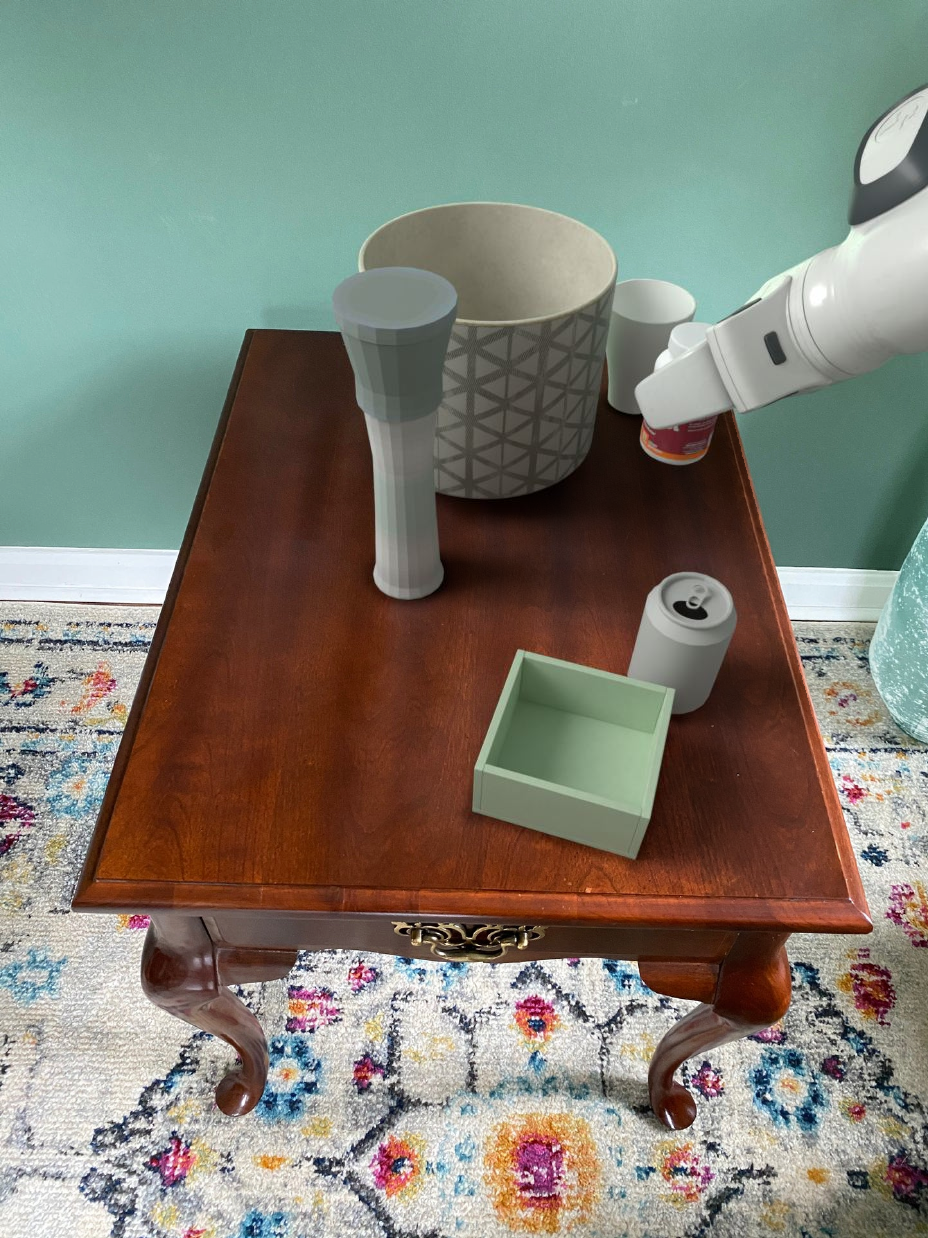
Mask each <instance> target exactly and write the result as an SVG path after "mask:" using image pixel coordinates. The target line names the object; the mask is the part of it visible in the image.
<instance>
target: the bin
mask: <svg viewBox="0 0 928 1238" xmlns="http://www.w3.org/2000/svg"><path fill="white" fill-rule="evenodd" d="M675 691H676V690H675V689H673V688H669V687H668V688H667V687H665V686H661V685H657V684H653V683H649V682H645V681H641V680H637V679H633V678H630V677H628V676H626V675H621V674H619V673H618V674H617V673H613V672H609V671H606V670H602V669H598V668H594V667H590V666H586V665H582V664H580V663H575V662H570V661H567V660H564V659H559V658H555V657H551V656H547V655H543V654H539V653H536V652H531V651H527V650H524V649H520V648H518V649H517V651H516V653H515V656H514V658H513V661H512V664H511V667H510V670H509V673H508V675H507V678H506V681H505V684H504V687H503V689H502V691H501V694H500V697H499V700H498V702H497V704H496V708H495V710H494V713H493V717H492V719H491V722H490V723H489V727H488V730H487V733H486V735H485V737H484V741H483V744H482V747H481V749H480V752H479V754H478V757H477V760H476V763H475V765H474V767H473V768H474V770H473V790H472V794H473V795H472V813H473V812H474V813H476V814H480V815H483V816H487V817H490V818H494V819H496V820H500V821H503V822H508V823H510V824H513V825H517V826H521V827H523V828H527V829H530V830H534V831H537V832H540V833H544V834H547V835H550V836H554V837H557V838H559V839H560V838H561V839H563V840H567V841H570V842H574V843H577V844H580V845H584V846H588V847H590V848H594V849H597V850H601V851H604V852H607V853H611V854H615V855H618V856H621V857H624V858H628V859H632V860H636V858H637V857H638V854H639V851H640V848H641V845H642V843H643V840H644V837H645V836H646V835H645V834H646V832H647V829H648V826H649V824H650V821H651V818H652V813H653V807H654V802H655V797H656V792H657V787H658V782H659V778H660V771H661V767H662V761H663V757H664V751H665V746H666V741H667V736H668V732H669V727H670V720H671V716H672V714H671V711H672V706H673V701H674V696H675Z"/></svg>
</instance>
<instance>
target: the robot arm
mask: <svg viewBox="0 0 928 1238" xmlns="http://www.w3.org/2000/svg"><path fill="white" fill-rule="evenodd" d="M847 202H848V203H847V213H846V214H847V217H846V218H847V219H846V220H847V223H848V225H849V226H850V231H849V234H848V235H847V237H846V238H845V240H843V241H842V242H841V243H839V244H838V245H835V246H832V247H828V248H825V249H824V250H821V251H820V252H818V253H816V254H814V255H812V256H811V257H808V258H807V259H805V260H803V261H801V262H799V263H798V264H795V265H794V266H792V267H791V268H788V269H786V270H785V271H782V272H780V273H778V274H777V275H775V276H773V277H771V278H770V279H769V280H767V281H766V282H765V283H764V284H763V285H762V286H761V287H760V288H759V290H758V291H756V293H754V295H752V296H751V297H750V298H749V299H748V300H747V301H746V302H745V303H744V304H743V305H742V306H740V307H739V308H737V309H736V310H735V311H734V312H732V313H731V314H729V315H727V316H726V317H724V318H723V319H721V320H719V321H717V322H716V324H713V325H714V326H712V327H710V328H709V329H708V330H707V331H706V337H707V338H706V339H704V340H703V341H701V342H700V343H698V344H697V345H695V346H694V347H692V348H690V349H689V350H687V351H686V352H684V353H683V354H681V355H680V356H678V357H677V358H675V359H674V360H672V361H670V362H669V363H667V364H666V365H664V366H663V367H661V368H660V369H658V370H657V371H655V372H654V373H652V374H651V375H649V376H648V377H647V378H645V379H644V380H642V381H641V382H640V383H639V384H638V385H637V386H636V388H635V397H636V400H637V403H638V405H639V408H640V410H641V412H642V413H641V414H642V416H643V420H644V419H645V420H646V422H647V424H648V425H649V427H651V428H652V429H656V430H661V429H666V428H670V427H674V426H678V425H682V424H685V423H689V422H693V421H696V420H700V419H703V418H707V417H710V416H714V415H717V414H718V415H720V414H722V413H723V414H724V413H726V412H728V411H731V410H734V409H736V410H737V413H738V414H740V415H745V414H748V413H752V412H754V411H757V410H760V409H763V408H765V407H767V406H770V405H773V404H774V403H776V402H779V401H780V400H783V399H786V398H787V399H788V398H793V397H798V396H799V397H800V396H803V395H811V394H814V393H817V392H820V391H821V390H825V389H828V388H831V387H834V386H836V385H839V384H842V383H845V382H848V381H850V380H852V379H855V378H859V377H861V376H863V375H867V374H870V373H872V372H874V371H876V370H879V368H881V367H882V366H884V365H885V364H886V363H888V362H889V361H890V360H892V359H894V358H897V357H899V356H904V355H905V356H906V355H907V356H908V355H919V354H924V353H927V352H928V82H926V83H923V84H922V85H920V86H918V87H916V88H915V89H913V90H912V91H910V92H909V93H907V94H906V95H904V96H903V97H901V98H900V99H898V101H896V102H895V103H894V104H893V105H891V106H890V107H889V108H888V109H887V110H885V111H884V112H883V113H882V114H881V115H880V116H879V117H878V118H876V120H875V121H874V122H873V123H872V124H871V125H870V127H869V128H868V129H867V130H866V132H865V134H864V135H863V137H862V138H861V141H860V143H859V146H858V148H857V151H856V154H855V157H854V162H853V170H852V175H851V181H850V188H849V195H848V201H847Z"/></svg>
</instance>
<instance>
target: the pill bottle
mask: <svg viewBox="0 0 928 1238" xmlns="http://www.w3.org/2000/svg"><path fill="white" fill-rule="evenodd" d="M714 325H715V324H710V323H707V322H699V321H692V322H688V323H683V324H680V325H678V326H676V327H675V328H674V329H673V330H672V332H671V335H670V339H669V343H668V349H666V350H665V351H664V352H662V353H661V354H660V355H659V357H658V358H657V360H656V363H655V367H654V372H655V371H657V370H658V369H660V368H661V367H663V366H664V365H666V364H667V363H669V362H670V361H672V360H674V359H675V358H677V357H678V356H680V355H681V354H683V353H684V352H686V351H687V350H689V349H690V348H692V347H694V346H695V345H697V344H698V343H700V342H701V341H703V340H704V339H706V338H707V337H706V331H707V330H708V329H709V328H710V327H712V326H714ZM654 372H653V373H654ZM718 416H719V414H717V415H714V416H710V417H707V418H703V419H700V420H696V421H693V422H689V423H685V424H682V425H678V426H674V427H670V428H666V429H661V430H656V429H652V428H651V427H649V425H648V424H647V422H646V420H645V419H644V418H643V420H642V425H641V429H640V435H639V442H640V446H641V448H642V450H643V451H644V452H645V453H646V454H647V455H648V456H649V457H651V458H652V459H654V460H656V461H659V462H660V463H664V464H668V465H673V466H686V465H691V464H693V463H695V462H698V461H700V460H701V459H702V458H703V457H704V456H705V455H706V454H707V452H708V450H709V448H710V445H711V441H712V437H713V433H714V431H715V426H716V423H717V419H718Z"/></svg>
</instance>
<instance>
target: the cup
mask: <svg viewBox="0 0 928 1238" xmlns="http://www.w3.org/2000/svg"><path fill="white" fill-rule="evenodd" d="M696 311H697V301H696V299H695V298H694V296H693V294H692V293H691V292H689V291H688V290H686V289H685V288H683V287H682V286H680V285H677V284H675V283H672V282H669V281H665V280H662V279H661V280H660V279H654V278H631V279H626V280H622V281H620V282H616V287H615V293H614V300H613V306H612V313H611V319H610V326H609V332H608V339H607V345H606V352H605V357H606V360H607V361H606V363H607V375H608V386H607V388H608V392H607V401H608V404H610V406H611V407H612V408H613V409H615V410H617V411H619V412H622V413H624V414H629V415H640V414H642V412H641V410H640V408H639V405H638V403H637V400H636V397H635V388H636V386H637V385H638V384H639V383H640V382H641V381H642V380H644V379H645V378H647V377H648V376H649V375H651V374H652V373H653V372H654V367H655V363H656V360H657V358H658V357H659V355H660V354H661V353H662V352H664V351H665V350H666V349H668V343H669V339H670V335H671V332H672V330H673V329H674V328H675V327H676V326H678V325H680V324H683V323H688V322H694V318H695V315H696Z"/></svg>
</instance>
